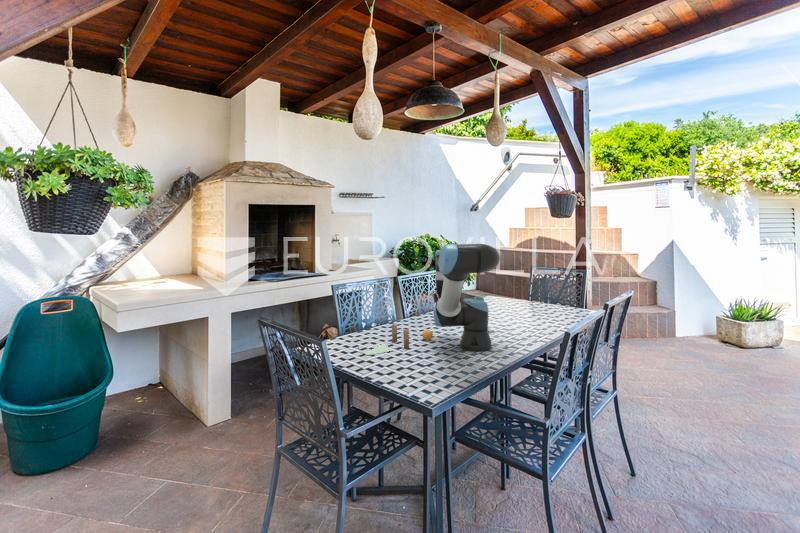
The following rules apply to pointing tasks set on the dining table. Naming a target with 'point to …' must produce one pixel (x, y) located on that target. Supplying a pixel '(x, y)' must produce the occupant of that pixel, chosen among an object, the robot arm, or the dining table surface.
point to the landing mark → (378, 350)
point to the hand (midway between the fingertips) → (443, 322)
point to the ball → (427, 334)
